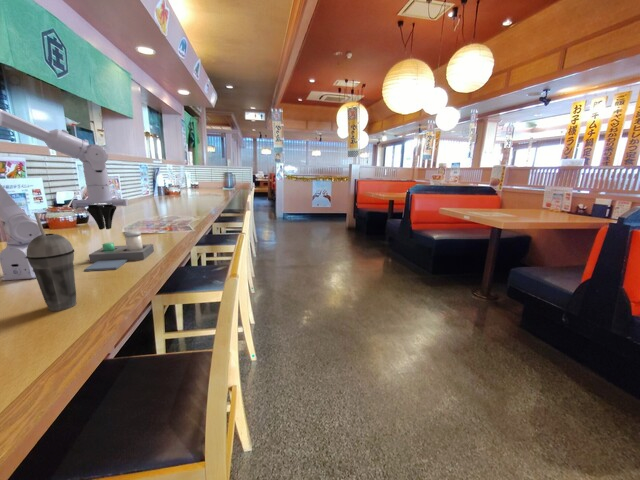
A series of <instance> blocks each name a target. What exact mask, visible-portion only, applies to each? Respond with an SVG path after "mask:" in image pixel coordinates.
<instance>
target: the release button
mask: <svg viewBox="0 0 640 480" xmlns="http://www.w3.org/2000/svg"><path fill="white" fill-rule="evenodd" d="M101 245H102V247H103V251H114V250H115V248H114V246H115V243H114V242H104V243H102V244H101Z"/></svg>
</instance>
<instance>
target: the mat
mask: <svg viewBox="0 0 640 480" xmlns="http://www.w3.org/2000/svg"><path fill="white" fill-rule="evenodd" d="M127 262H129V260H128V259H121V260H103V261H97V262H93V263H92V264H91V265H89V266H87V267H86V268H84V272H97V271H110V270H111V271H113V270H118V269H119V268H120V267H122V266H123V265H125V263H127Z"/></svg>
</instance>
